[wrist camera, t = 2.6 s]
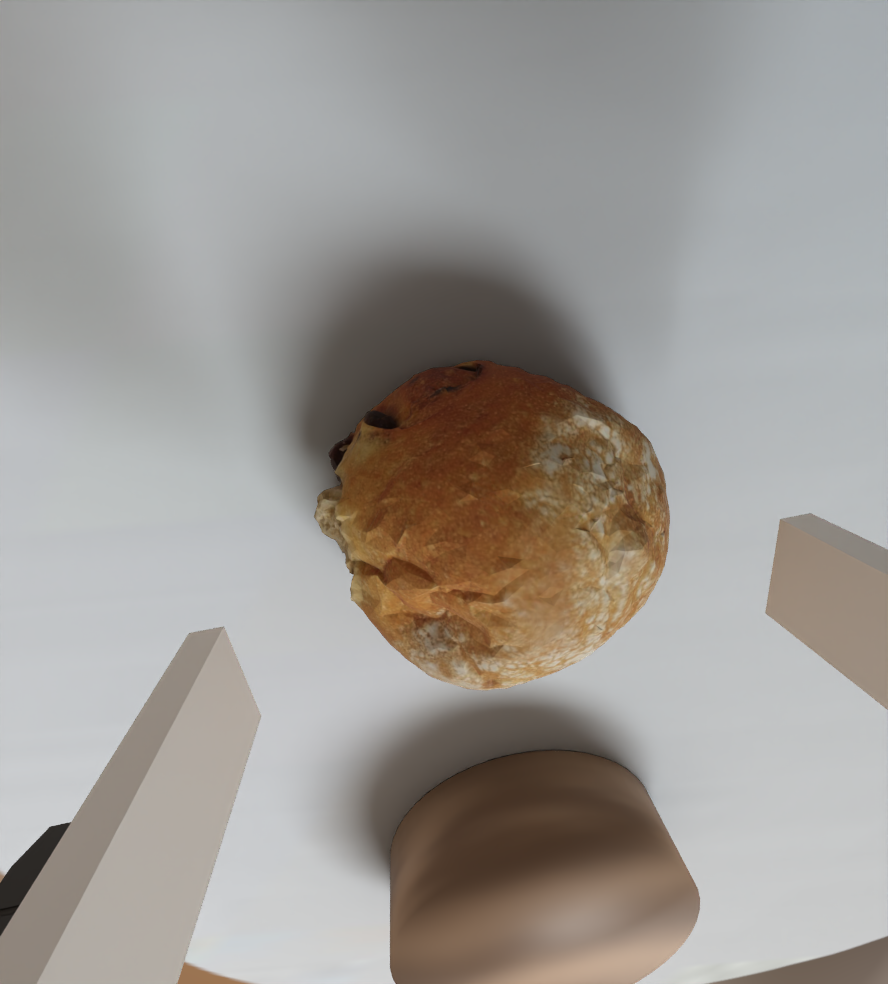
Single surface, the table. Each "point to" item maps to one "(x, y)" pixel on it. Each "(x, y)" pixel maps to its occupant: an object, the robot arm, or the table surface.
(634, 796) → the walnut stand
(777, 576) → the robot arm
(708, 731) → the table surface
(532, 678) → the bread roll
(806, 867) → the table surface
